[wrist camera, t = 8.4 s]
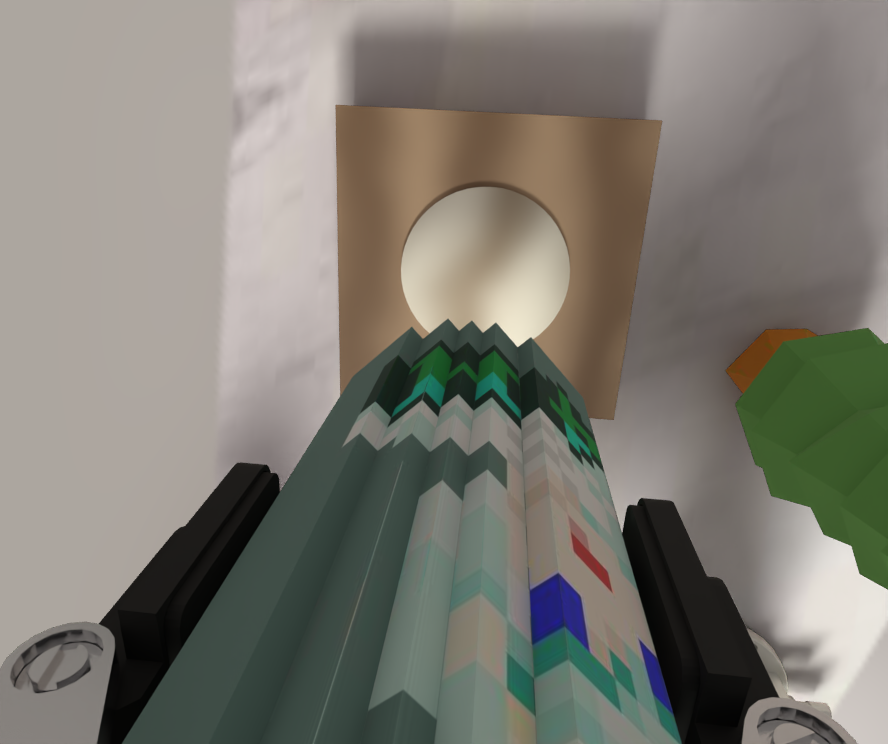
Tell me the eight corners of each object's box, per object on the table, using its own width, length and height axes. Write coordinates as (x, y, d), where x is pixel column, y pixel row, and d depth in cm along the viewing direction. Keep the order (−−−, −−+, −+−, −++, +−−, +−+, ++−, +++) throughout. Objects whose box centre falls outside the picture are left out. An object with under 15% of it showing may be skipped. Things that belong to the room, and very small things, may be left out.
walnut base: (645, 121, 34) (663, 120, 30) (603, 392, 39) (614, 421, 36) (353, 107, 35) (334, 104, 31) (355, 373, 41) (339, 399, 37)
